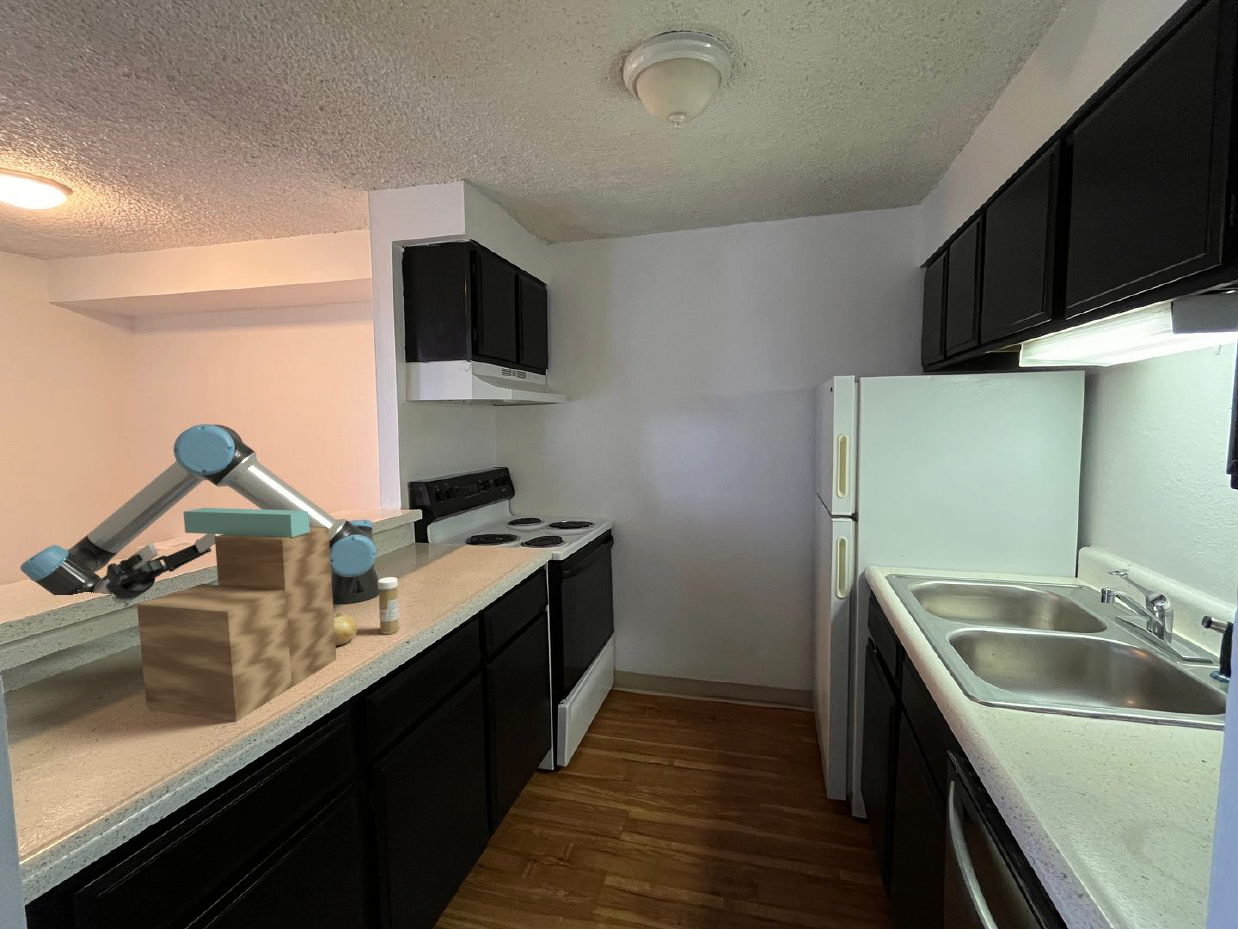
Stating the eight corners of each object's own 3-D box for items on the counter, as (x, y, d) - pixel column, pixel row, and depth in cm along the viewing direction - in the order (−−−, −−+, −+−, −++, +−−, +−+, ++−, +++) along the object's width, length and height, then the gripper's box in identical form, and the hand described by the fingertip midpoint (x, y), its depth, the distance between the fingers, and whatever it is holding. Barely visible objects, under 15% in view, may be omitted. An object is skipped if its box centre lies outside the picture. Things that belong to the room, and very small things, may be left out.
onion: (364, 640, 125) (362, 612, 124) (330, 653, 118) (329, 623, 118) (346, 633, 129) (345, 605, 129) (313, 644, 123) (311, 615, 122)
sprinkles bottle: (376, 631, 130) (374, 579, 128) (394, 626, 133) (391, 575, 132) (385, 636, 127) (382, 583, 126) (403, 630, 130) (400, 578, 129)
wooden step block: (261, 652, 119) (251, 523, 116) (336, 659, 115) (328, 526, 112) (146, 709, 95) (131, 550, 93) (236, 721, 91) (223, 555, 89)
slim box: (206, 528, 112) (204, 507, 111) (309, 532, 107) (308, 510, 106) (185, 532, 107) (183, 511, 107) (291, 537, 102) (290, 514, 102)
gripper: (189, 581, 129) (247, 543, 125) (65, 619, 105) (131, 573, 100) (175, 555, 130) (232, 516, 125) (47, 587, 105) (112, 539, 101)
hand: (187, 541), depth 113 cm, fingers open, 13 cm apart
